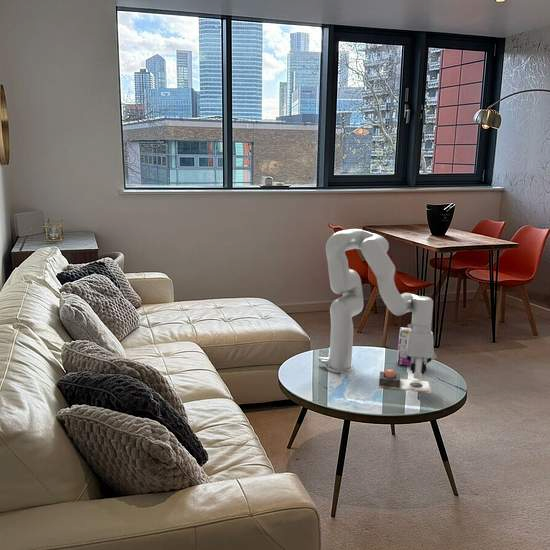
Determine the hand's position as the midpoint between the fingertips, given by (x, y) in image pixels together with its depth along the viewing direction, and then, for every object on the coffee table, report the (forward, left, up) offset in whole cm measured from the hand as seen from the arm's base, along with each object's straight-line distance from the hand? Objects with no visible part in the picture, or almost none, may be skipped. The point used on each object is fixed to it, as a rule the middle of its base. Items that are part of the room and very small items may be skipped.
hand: (417, 372), depth 231 cm
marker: (0, 0, -2) cm, 2 cm away
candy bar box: (-2, +28, -7) cm, 28 cm away
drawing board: (-5, 0, -7) cm, 8 cm away
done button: (-11, 0, -4) cm, 12 cm away
